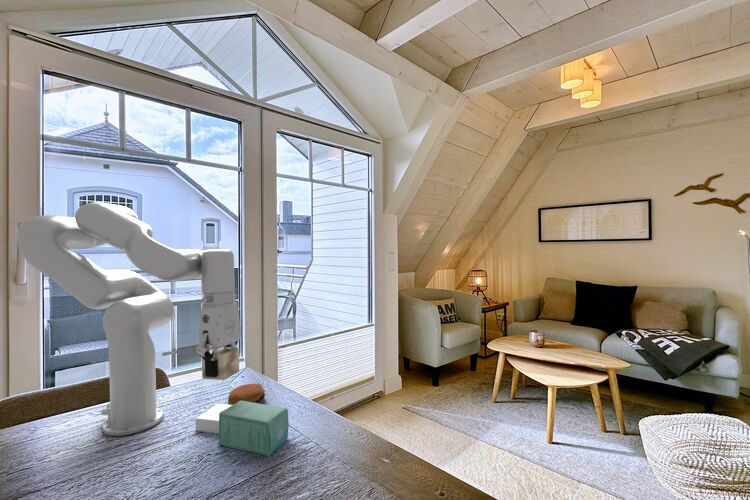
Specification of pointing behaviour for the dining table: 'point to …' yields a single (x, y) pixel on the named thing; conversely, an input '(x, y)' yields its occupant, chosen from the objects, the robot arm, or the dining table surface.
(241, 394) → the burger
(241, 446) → the box
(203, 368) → the maple block
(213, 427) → the white slab
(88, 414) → the dining table surface
